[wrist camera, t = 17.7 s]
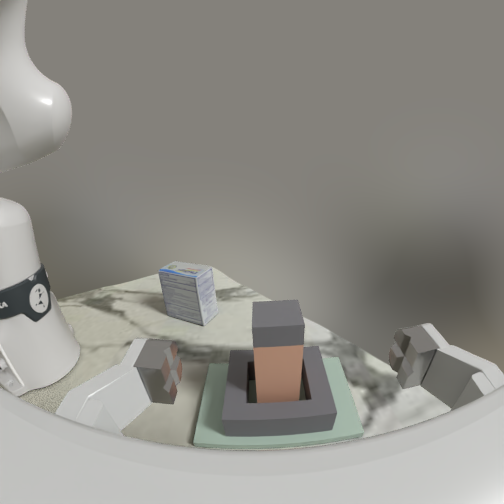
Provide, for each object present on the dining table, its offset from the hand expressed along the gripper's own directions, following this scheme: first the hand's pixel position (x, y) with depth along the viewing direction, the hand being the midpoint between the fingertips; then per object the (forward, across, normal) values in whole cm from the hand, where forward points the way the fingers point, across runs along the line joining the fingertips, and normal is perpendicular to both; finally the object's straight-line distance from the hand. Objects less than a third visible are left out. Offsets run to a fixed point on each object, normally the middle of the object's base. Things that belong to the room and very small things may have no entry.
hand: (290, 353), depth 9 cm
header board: (+11, 0, +18) cm, 21 cm away
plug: (+11, 0, +17) cm, 20 cm away
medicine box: (+30, +12, +18) cm, 38 cm away
